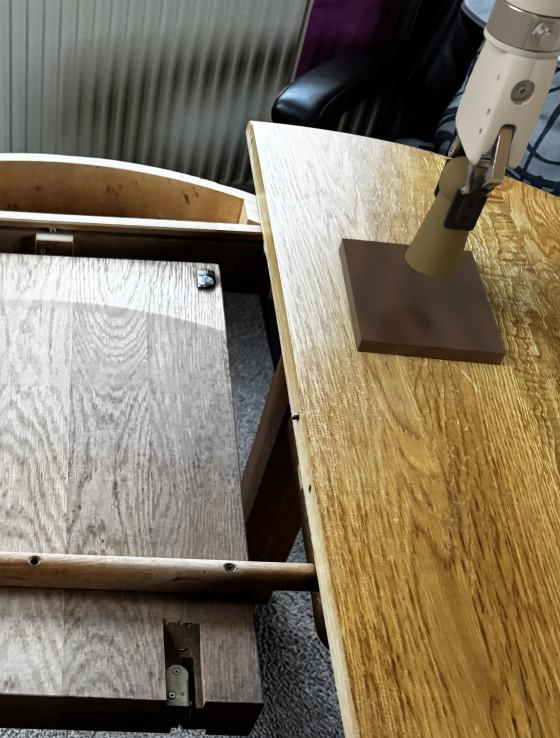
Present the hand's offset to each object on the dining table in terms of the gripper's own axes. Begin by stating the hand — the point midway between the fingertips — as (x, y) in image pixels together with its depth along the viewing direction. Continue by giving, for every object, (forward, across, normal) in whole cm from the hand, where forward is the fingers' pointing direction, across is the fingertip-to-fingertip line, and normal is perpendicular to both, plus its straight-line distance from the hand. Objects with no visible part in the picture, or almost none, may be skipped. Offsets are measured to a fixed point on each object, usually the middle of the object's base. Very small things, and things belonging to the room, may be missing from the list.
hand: (453, 211), depth 99 cm
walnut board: (+11, 0, 0) cm, 11 cm away
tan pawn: (+6, 0, 0) cm, 6 cm away
